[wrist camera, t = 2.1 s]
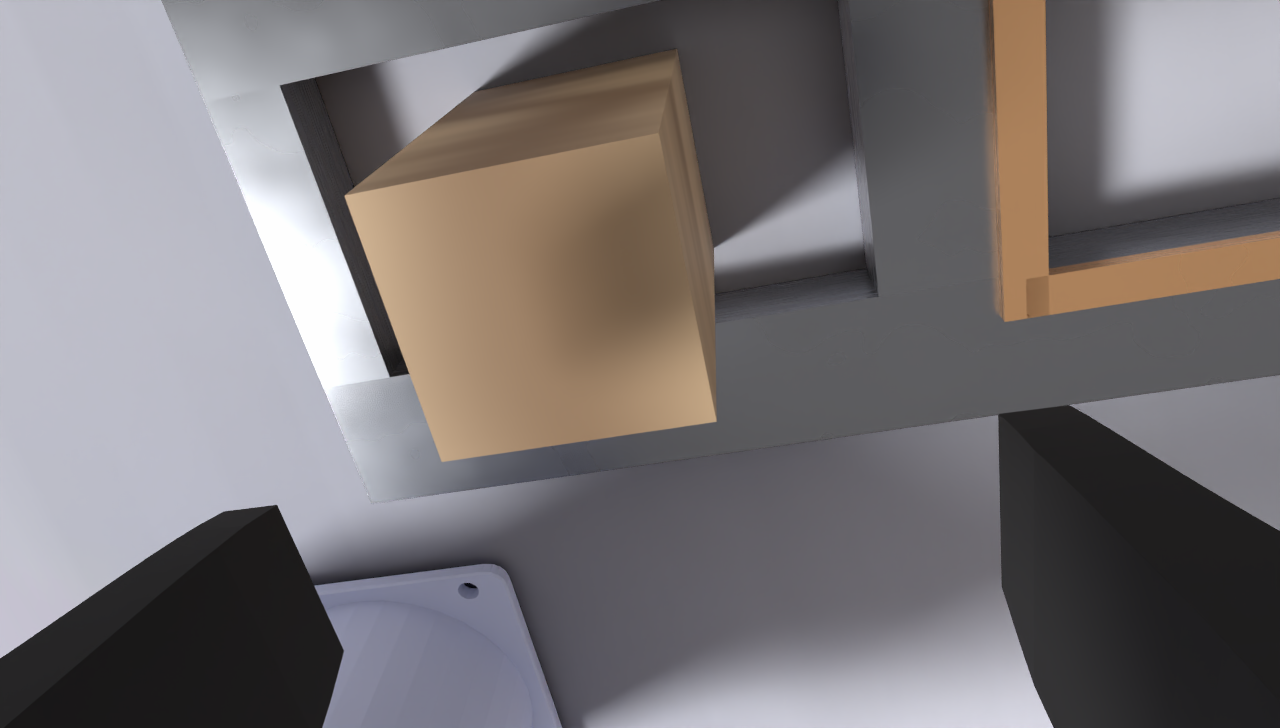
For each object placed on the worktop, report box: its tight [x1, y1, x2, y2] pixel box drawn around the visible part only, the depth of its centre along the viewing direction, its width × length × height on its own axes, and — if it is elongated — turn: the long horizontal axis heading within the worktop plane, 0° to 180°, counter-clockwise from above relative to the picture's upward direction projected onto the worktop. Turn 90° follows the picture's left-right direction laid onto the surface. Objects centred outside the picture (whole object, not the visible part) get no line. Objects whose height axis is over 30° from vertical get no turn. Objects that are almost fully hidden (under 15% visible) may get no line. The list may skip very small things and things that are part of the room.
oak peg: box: [344, 49, 717, 462], centre depth 15 cm, size 4×4×7 cm
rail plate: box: [162, 0, 1280, 504], centre depth 16 cm, size 26×12×2 cm, turn 102°
